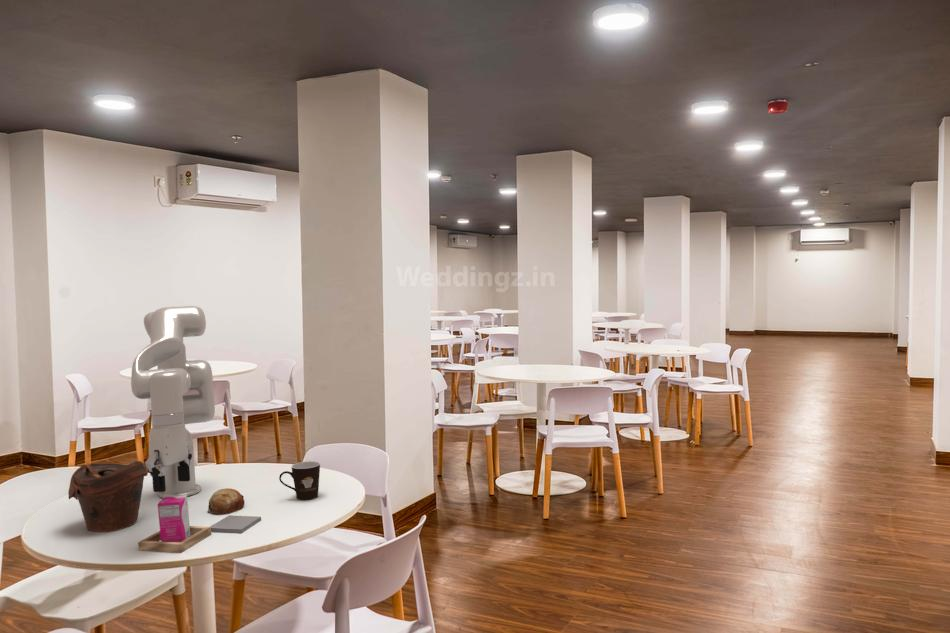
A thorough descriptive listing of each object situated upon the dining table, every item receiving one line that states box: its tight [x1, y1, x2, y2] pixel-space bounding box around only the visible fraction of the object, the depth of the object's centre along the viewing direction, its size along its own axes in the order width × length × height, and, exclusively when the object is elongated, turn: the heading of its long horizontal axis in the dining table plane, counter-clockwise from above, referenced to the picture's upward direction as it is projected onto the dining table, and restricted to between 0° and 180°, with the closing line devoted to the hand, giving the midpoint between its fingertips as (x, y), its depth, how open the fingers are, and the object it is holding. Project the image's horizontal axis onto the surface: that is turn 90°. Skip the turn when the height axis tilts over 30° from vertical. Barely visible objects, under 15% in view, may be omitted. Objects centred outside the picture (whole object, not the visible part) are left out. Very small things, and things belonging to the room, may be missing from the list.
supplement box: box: [157, 495, 192, 543], centre depth 180 cm, size 6×6×12 cm
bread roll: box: [207, 488, 245, 516], centre depth 205 cm, size 10×10×8 cm
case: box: [68, 460, 149, 532], centre depth 195 cm, size 18×20×18 cm
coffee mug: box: [278, 460, 321, 501], centre depth 214 cm, size 12×9×10 cm
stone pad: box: [209, 515, 262, 534], centre depth 190 cm, size 10×10×1 cm
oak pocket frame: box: [137, 525, 212, 553], centre depth 180 cm, size 12×12×2 cm
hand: (172, 486), depth 179 cm, fingers open, 9 cm apart
